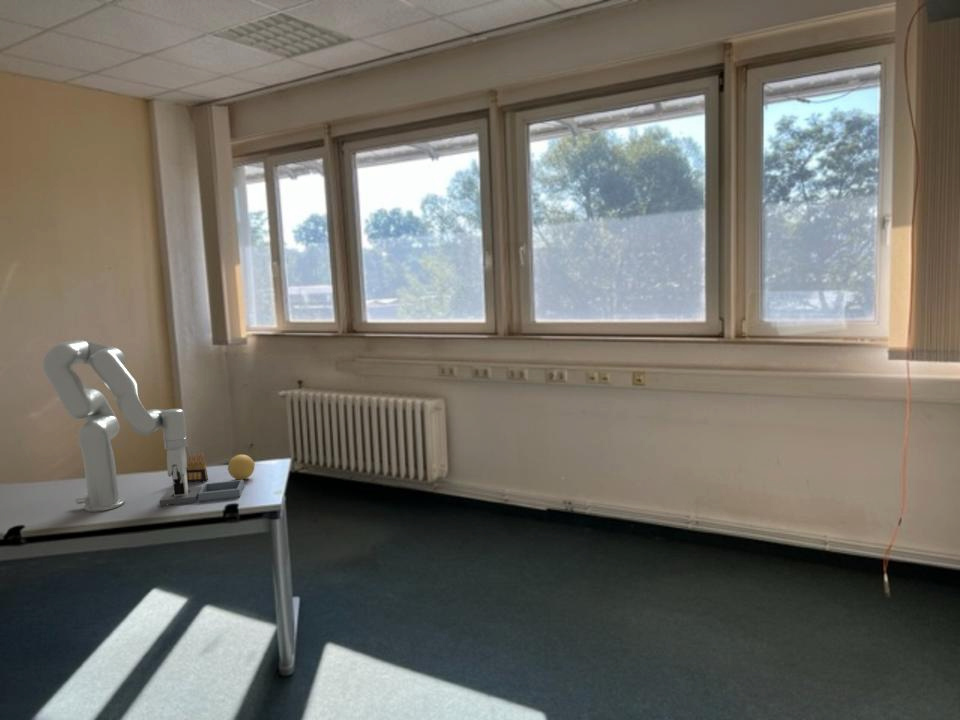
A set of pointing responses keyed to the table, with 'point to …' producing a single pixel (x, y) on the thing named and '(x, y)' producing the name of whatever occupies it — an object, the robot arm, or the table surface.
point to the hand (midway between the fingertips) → (181, 491)
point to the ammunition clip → (196, 469)
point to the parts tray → (221, 490)
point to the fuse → (184, 481)
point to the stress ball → (241, 467)
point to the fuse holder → (180, 497)
